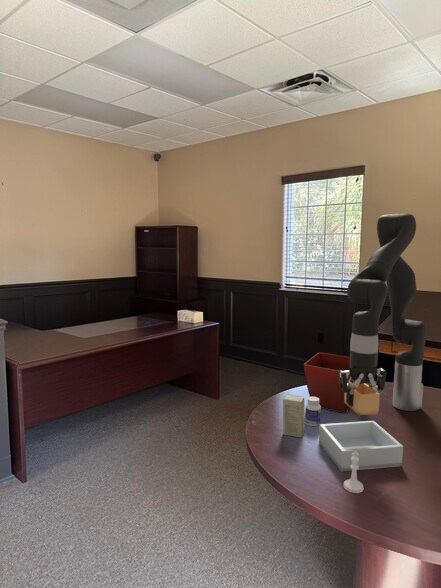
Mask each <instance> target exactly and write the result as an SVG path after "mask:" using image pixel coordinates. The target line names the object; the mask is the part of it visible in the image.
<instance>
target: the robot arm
mask: <svg viewBox="0 0 441 588" xmlns="http://www.w3.org/2000/svg"><path fill="white" fill-rule="evenodd" d="M376 231H377V232H376V234H377V239H378V242H379V246H380V248H378V249H377V250H376V251H374V253H372V255H371V256H370V257H369V259H368V261H367V263H366V265H365V266H364V268H363V269H362V270H361V271H360V272H359V273H357V274H356V275H355V276H354V277H353V278H352V279H351V280H350V282H349V283H348V285H347V289H346V295H347V299H348V300H349V301H350V302H352V303H354V304H361V305H369V306H370V308H369V310H365V311H357V312H355V313H354V314H353V316H352V325H351V337H350V346H349V357H350V367H349V369H348V370H347V371H342V370H340V371H339V382H340V389H341V390H342V391H343V392H345V393H347V394H346V402H347V403H348V405H349V406H353V399H354V394H353V393H354V390H355V389H356V388H357V387H358V385H359V384H363V383H365V384H367V385H368V386H369V387H371V388H372V389H374V390H375V391H377V392H378V393H379V391H384V388H385V384H386V378H387V374H388V371H387V370H385V369H383V368H382V367H380V368H377V366H378V355H379V324H380V323H379V322H380V317H381V313H382V310H383V308H384V304H385V302H386V299H387V297H388V298H389V304H390V313H391V332H392V338H393V340H394V341H395V342H396V343H398V344H403V345H408V346H412V347H411V349H410V350H405V351H399V352H397V353H396V354H395V359H394V360H395V362H394V376H393V389H392V390H393V391H392V392H393V393H392V406H393V407H394V408H396V409H398V410H401V411H407V412H414V411H415V412H416V411H418V410H420V409H422V408H423V407H422V406H423V405H422V404H423V394H424V393H423V392H424V383H422V377H423V376H422V375H423V374H422V373H423V362H424V357H425V356H424V355H425V345H426V339H427V331H428V330H427V325H426V323H425V322H424V321H420V320H413V319H407V318H405V317H404V316H405V315H404V314H405V310H406V308H407V307H408V306H409V305H410V304H411V302H412V300H413V299H414V297H415V296H416V294H417V283H416V282H417V281H416V274H415V272H414V270H413V268H412V267H411V266H410V265H409V263H408V262H407V261H405V259H403V258H402V254H403V253H404V252H405V250H406V249H407V248H408V246H410V244H411V243H412V241H413V240H414V238H415V235H416V231H417V222H416V218H415V216H414V215H413V214H411V213H391V214H390V213H389V214H383V215H381V216H379V217H378V220H377V223H376ZM348 375H350V376H351V378H350V380H349V382H348V386H347V378H348ZM375 377H376V381H375V379H374V378H375ZM354 381H355V382H354Z"/></svg>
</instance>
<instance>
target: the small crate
mask: <svg viewBox="0 0 441 588" xmlns="http://www.w3.org/2000/svg"><path fill="white" fill-rule="evenodd" d="M347 386H348V383H347ZM346 394H347V393H345V396H344V403H345V404H347V405H348V403H347V402H346ZM353 394H354V399H353V406H349V405H348V406H349V407H350V408H349V409H351V410H352V411H353V412H355V414H356V415H358V416H368V415H378V414H379V412H380V411H379V410H380V395H381V393H379V391H378V392H377V391H375V390H374V389H372V388H371V387H369V386H368V384H365V383H363V384H359V385H358V387H357V388H356V389H355V390H354V393H353Z"/></svg>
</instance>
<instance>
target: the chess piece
mask: <svg viewBox="0 0 441 588" xmlns="http://www.w3.org/2000/svg"><path fill="white" fill-rule="evenodd" d="M356 452H357V451H354V453H352V457H351V461H352V465H350V468H352V471H351V475H350V478H349V479H346V480H344V482H343V488H344V489H345V490H346V491H347V492H350V493H353V494H359V493H362V492H363V491H364V484H363V483H362V482H361V481H360V480H358V474H357V473H358V472H357V471H358V470H357V469H359V467H358V465H357V463H358V461H359V458H358V457H356V455H359V453H356Z"/></svg>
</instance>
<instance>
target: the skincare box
mask: <svg viewBox="0 0 441 588" xmlns="http://www.w3.org/2000/svg"><path fill="white" fill-rule="evenodd" d="M304 433H305V396H298V395H293V394H285V396H284V397H283V398H282V435H285V436H290V437H295V438H296V437H297V438H302V437H303V435H304Z"/></svg>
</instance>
